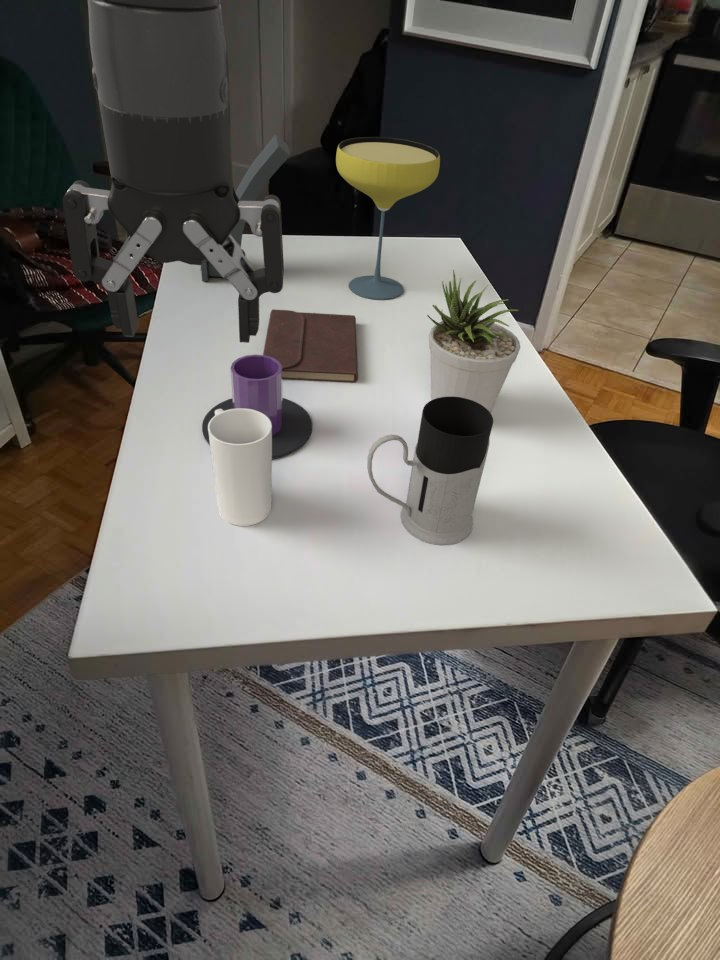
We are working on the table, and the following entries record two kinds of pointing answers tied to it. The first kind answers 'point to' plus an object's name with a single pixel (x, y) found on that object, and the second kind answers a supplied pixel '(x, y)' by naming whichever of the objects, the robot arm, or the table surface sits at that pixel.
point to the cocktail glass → (385, 189)
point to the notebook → (313, 345)
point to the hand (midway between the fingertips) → (188, 334)
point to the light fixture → (253, 188)
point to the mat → (289, 436)
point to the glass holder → (443, 469)
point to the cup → (258, 387)
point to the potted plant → (470, 350)
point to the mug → (242, 464)
